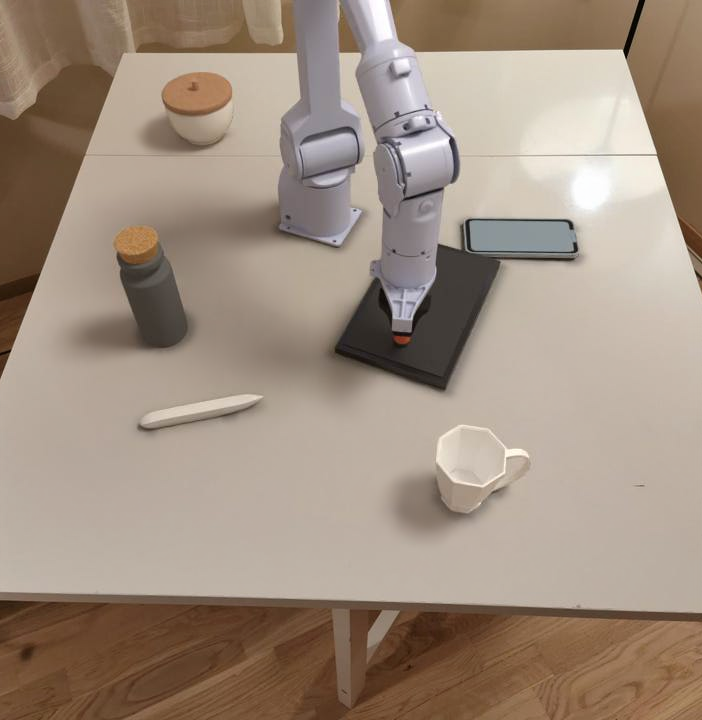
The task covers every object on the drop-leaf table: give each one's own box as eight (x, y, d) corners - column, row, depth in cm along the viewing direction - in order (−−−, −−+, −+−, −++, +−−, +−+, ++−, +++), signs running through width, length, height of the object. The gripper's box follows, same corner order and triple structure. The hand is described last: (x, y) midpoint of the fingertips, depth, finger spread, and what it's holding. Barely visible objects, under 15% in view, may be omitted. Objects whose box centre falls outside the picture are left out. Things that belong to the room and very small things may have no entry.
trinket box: (209, 107, 118) (199, 54, 111) (251, 132, 114) (244, 78, 106) (158, 135, 114) (144, 81, 106) (200, 163, 109) (188, 108, 102)
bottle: (196, 318, 89) (172, 227, 77) (175, 353, 86) (146, 263, 74) (155, 308, 90) (125, 217, 78) (132, 341, 87) (97, 251, 75)
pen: (265, 408, 80) (264, 400, 79) (141, 432, 79) (137, 424, 77) (263, 397, 81) (261, 389, 80) (140, 421, 80) (137, 412, 78)
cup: (419, 470, 75) (425, 429, 68) (510, 454, 76) (524, 412, 69) (437, 531, 71) (445, 493, 64) (533, 513, 72) (550, 474, 65)
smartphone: (463, 217, 99) (573, 218, 97) (462, 222, 99) (571, 223, 98) (465, 253, 94) (580, 254, 93) (465, 258, 95) (579, 260, 94)
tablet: (334, 353, 85) (334, 346, 84) (400, 239, 97) (401, 232, 96) (445, 391, 81) (446, 384, 80) (499, 267, 93) (501, 260, 92)
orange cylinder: (392, 346, 84) (395, 300, 78) (393, 334, 85) (397, 287, 79) (409, 348, 84) (413, 302, 77) (410, 335, 85) (415, 289, 79)
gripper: (377, 189, 76) (375, 278, 87) (362, 285, 67) (361, 371, 78) (443, 194, 76) (432, 283, 86) (436, 291, 67) (425, 377, 77)
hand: (403, 325), depth 82 cm, fingers closed on orange cylinder, 2 cm apart
